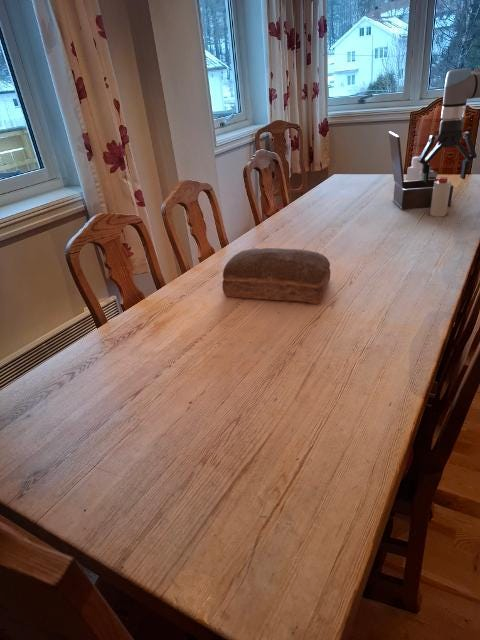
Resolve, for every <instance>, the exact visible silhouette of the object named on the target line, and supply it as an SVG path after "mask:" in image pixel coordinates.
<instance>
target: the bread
mask: <svg viewBox="0 0 480 640" xmlns="http://www.w3.org/2000/svg"><path fill="white" fill-rule="evenodd" d="M330 267H331V262H330V260H329V259H328V257H326V255H324V254H322V253H320V252H317V251H311V250H305V249H299V248H282V247H281V248H280V247H263V248H256V247H255V248H250V249H245V250H241V251H238V253H236V254H234V255H233V256H232V257H231V258H230V259H229V260H228V261H227V263H226V264H225V265H224V268H223V271H222V279H223V280H222V292H223V294H224V296H226V297H233V298H241V299H242V298H243V299H255V300H256V299H258V300H270V301H289V302H305V303H309V304H320V303H321V301H322V300H323V297H324V294H325V292H326V288H327V286H328V284H329V282H330V279H331V268H330Z"/></svg>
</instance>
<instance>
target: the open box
mask: <svg viewBox="0 0 480 640" xmlns="http://www.w3.org/2000/svg"><path fill="white" fill-rule="evenodd" d="M438 179H439V178H436V179H428V182H427V183H426V182H424V181H423V180H414V181H406V180H404V186H405V188H404V189H402V188H401V187H400V186H399V185H398V184H397V183H396V182H395V181H394V189H393V199H392V201H393V202H394V204H395V205H396V206H397V207H398V208H399V209H400V210H401V211H405V210H419V209H420V210H421V209H430V208H431V201H432V194H433V187H434V182H435V181H438ZM453 192H454V185H452V184H451V187H450V194H449V200H448V206H447V208H448V207H451V206H452V205H451V204H452V199H453Z"/></svg>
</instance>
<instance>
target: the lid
mask: <svg viewBox="0 0 480 640" xmlns="http://www.w3.org/2000/svg"><path fill="white" fill-rule="evenodd" d="M388 138H389V147H390V156H391V164H392V175H393V181H394V183H395V182H396V183H397V184H398V185H399V186H400V187H401V188H402V189H404V188H405V186H404V181H405V179H404V177H405V176H404V168H403V157H402V146H401V138H400V136H399V135H398V134H396V133H394V132H393V131H388Z"/></svg>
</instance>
